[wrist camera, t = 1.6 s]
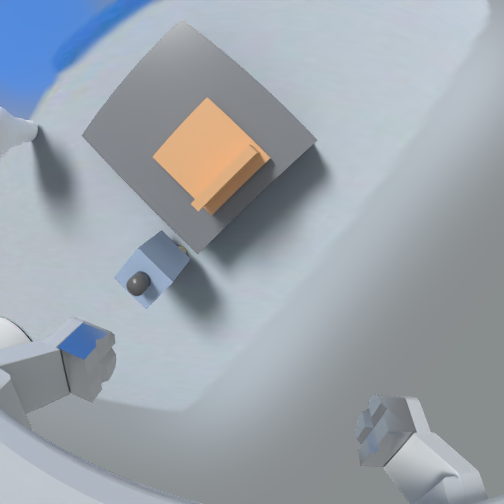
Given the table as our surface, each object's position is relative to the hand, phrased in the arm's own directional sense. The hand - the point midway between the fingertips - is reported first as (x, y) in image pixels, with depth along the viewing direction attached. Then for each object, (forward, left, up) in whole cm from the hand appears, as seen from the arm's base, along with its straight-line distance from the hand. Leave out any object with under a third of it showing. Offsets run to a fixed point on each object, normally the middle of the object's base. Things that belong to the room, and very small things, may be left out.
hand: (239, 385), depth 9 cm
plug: (-10, +5, -23) cm, 25 cm away
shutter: (+1, +8, -18) cm, 20 cm away
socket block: (+1, +11, -23) cm, 25 cm away
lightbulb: (-12, +28, -23) cm, 38 cm away
